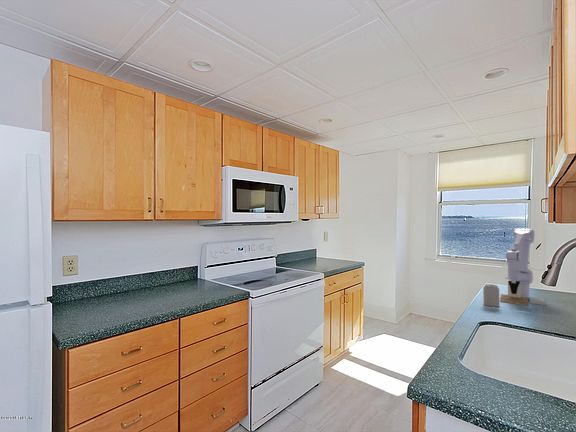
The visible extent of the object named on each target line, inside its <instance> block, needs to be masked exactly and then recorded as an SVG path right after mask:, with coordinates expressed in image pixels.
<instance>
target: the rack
mask: <svg viewBox="0 0 576 432" xmlns="http://www.w3.org/2000/svg"><path fill="white" fill-rule="evenodd" d="M507 297H511V296H508V294H505V293H504V294H503V293H502V294H500V296H499V303H507V304H516V305H524V306H529V300H528V299H529V298H528V297H521V296H520V300H517V299H509V298H507ZM515 298H519V297H515Z"/></svg>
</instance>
